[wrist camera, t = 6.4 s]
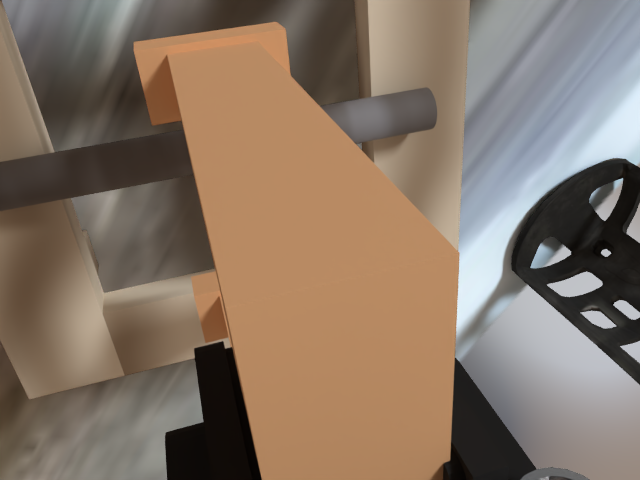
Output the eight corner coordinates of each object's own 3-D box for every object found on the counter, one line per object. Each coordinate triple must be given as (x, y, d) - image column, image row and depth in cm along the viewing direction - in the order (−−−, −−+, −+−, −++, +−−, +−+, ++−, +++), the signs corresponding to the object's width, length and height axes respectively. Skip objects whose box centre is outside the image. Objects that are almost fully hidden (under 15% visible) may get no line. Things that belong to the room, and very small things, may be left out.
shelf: (55, 274, 33) (23, 427, 23) (-110, -143, 23) (-290, -176, 13) (383, 204, 37) (471, 311, 27) (371, -181, 26) (507, -229, 17)
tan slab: (202, 322, 21) (272, 751, 10) (133, 41, 16) (132, 311, 5) (309, 297, 22) (478, 671, 11) (276, 21, 17) (532, 219, 6)
